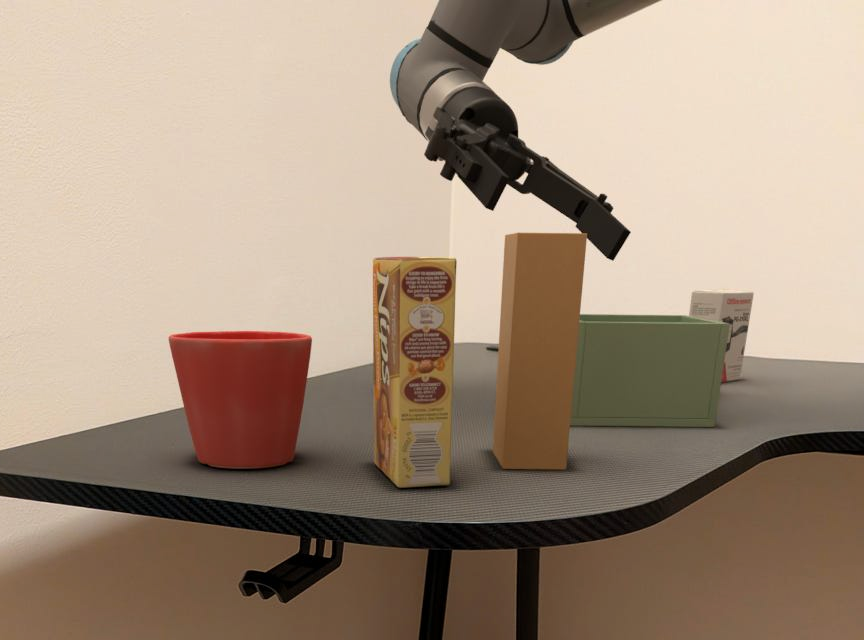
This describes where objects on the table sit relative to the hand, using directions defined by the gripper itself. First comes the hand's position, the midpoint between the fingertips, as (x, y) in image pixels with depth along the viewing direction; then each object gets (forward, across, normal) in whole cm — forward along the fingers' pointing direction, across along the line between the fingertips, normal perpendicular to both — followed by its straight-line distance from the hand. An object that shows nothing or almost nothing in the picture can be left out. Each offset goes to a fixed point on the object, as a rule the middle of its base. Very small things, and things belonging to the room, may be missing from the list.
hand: (561, 220), depth 76 cm
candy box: (+17, +13, -17) cm, 28 cm away
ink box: (-22, -52, -16) cm, 59 cm away
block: (+15, +2, -14) cm, 21 cm away
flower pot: (+9, +22, -24) cm, 34 cm away
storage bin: (-1, -21, -15) cm, 26 cm away
